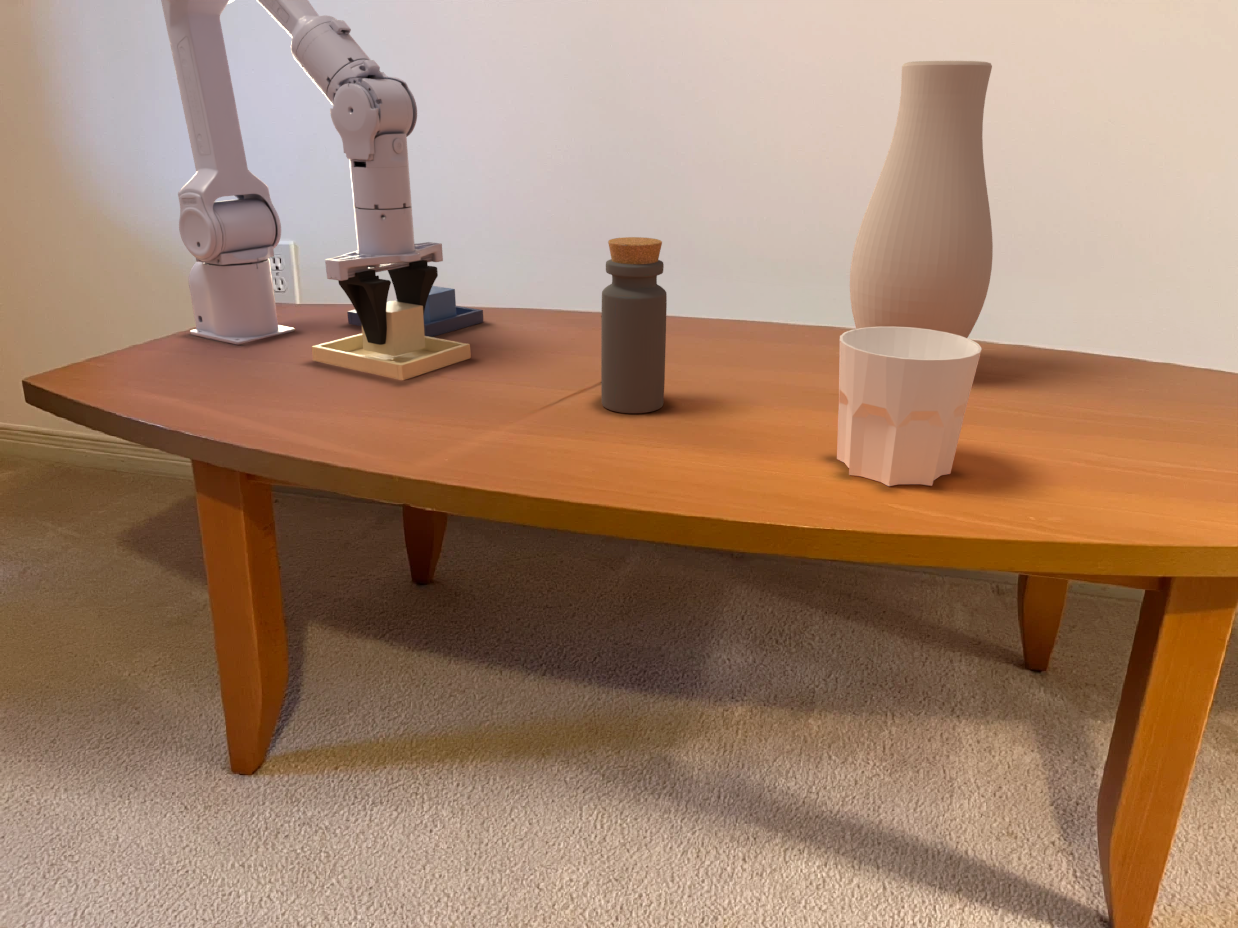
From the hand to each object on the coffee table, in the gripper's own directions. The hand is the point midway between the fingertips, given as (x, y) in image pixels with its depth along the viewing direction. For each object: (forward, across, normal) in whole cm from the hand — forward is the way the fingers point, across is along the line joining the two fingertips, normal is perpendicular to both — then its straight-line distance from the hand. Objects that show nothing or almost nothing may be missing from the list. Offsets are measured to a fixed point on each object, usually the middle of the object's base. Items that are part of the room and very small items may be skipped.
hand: (394, 338), depth 96 cm
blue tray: (+2, +14, +10) cm, 17 cm away
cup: (+3, 0, -54) cm, 54 cm away
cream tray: (+2, 0, 0) cm, 3 cm away
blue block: (+2, +12, +7) cm, 14 cm away
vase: (+3, +28, -47) cm, 55 cm away
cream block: (+1, 0, 0) cm, 1 cm away
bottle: (+3, +2, -29) cm, 29 cm away
